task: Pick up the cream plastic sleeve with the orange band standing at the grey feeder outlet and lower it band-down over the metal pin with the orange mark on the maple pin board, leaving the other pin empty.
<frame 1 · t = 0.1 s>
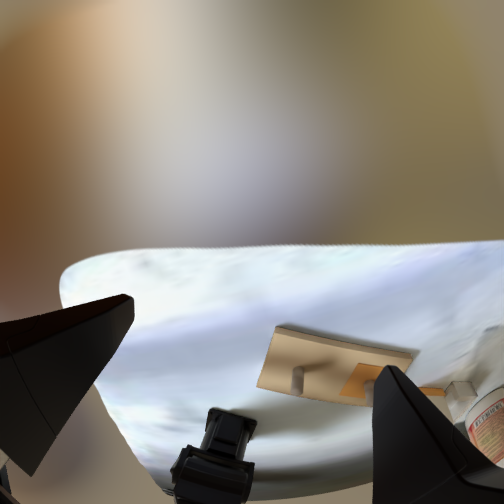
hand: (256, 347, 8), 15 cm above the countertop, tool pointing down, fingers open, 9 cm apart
sleeve: (422, 399, 26), on the countertop
pin board: (334, 371, 26), on the countertop
fruit juice: (486, 405, 25), on the countertop
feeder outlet: (447, 400, 25), on the countertop
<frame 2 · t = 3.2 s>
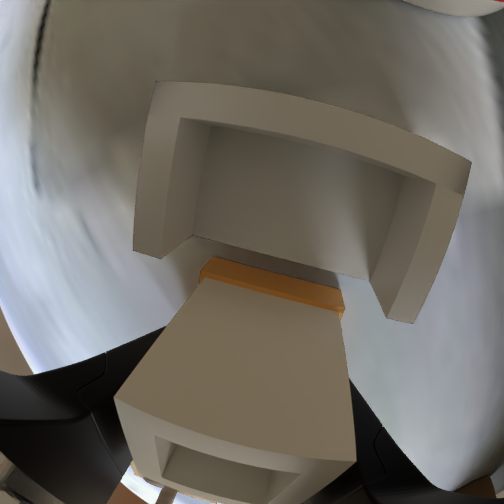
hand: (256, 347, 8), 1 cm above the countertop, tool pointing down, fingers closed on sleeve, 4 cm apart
sleeve: (262, 326, 10), on the countertop, touching gripper
pin board: (176, 456, 15), on the countertop
beer bottle: (466, 488, 14), on the countertop
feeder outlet: (299, 186, 8), on the countertop
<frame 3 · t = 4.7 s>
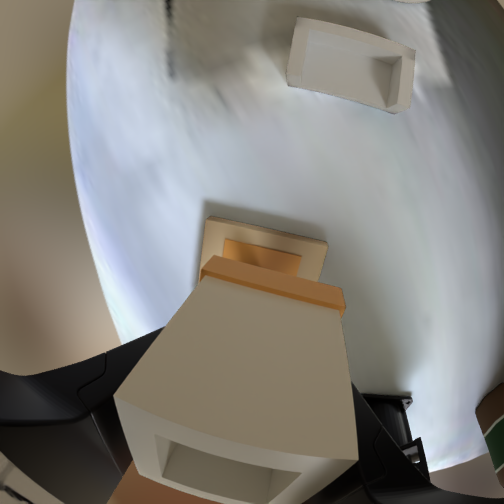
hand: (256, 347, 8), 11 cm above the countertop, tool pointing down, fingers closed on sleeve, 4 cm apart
sleeve: (262, 325, 10), point 9 cm above the countertop, touching gripper
pin board: (248, 320, 21), on the countertop
beer bottle: (495, 397, 20), on the countertop
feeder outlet: (347, 71, 14), on the countertop
when the fingers open (4 cm above the countertop, at t = 6.6 s): sleeve drops 1 cm, resting on pin board.
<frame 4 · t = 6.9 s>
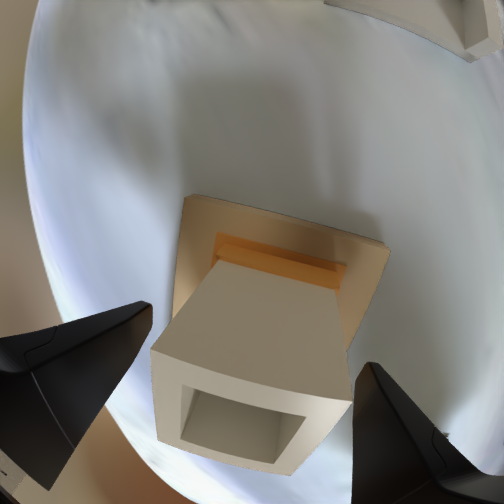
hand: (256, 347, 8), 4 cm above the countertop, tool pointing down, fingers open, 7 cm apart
sleeve: (267, 306, 11), point 1 cm above the countertop, touching pin board
pin board: (251, 358, 13), on the countertop
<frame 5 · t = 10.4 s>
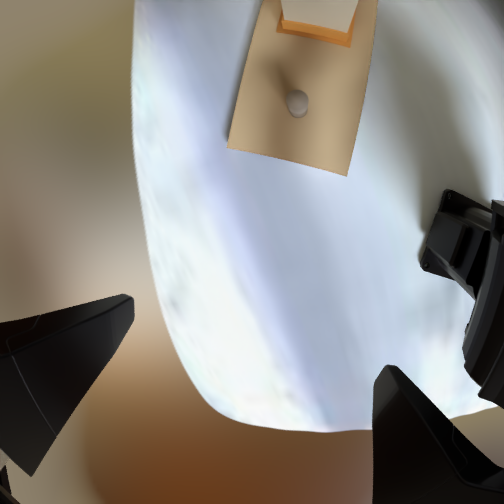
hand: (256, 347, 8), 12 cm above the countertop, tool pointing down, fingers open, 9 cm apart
sleeve: (319, 11, 13), point 1 cm above the countertop, touching pin board
pin board: (309, 61, 15), on the countertop
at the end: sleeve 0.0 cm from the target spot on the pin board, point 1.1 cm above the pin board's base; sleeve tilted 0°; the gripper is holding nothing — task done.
